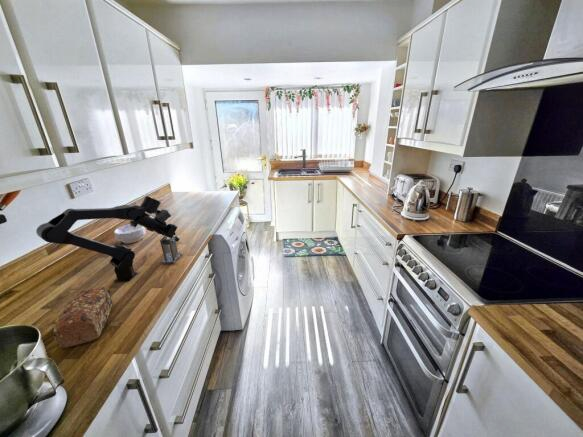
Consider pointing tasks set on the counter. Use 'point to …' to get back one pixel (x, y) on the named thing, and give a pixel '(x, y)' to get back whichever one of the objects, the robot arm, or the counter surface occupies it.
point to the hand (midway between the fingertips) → (175, 234)
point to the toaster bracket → (169, 257)
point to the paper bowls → (129, 233)
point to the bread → (83, 317)
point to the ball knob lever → (168, 239)
